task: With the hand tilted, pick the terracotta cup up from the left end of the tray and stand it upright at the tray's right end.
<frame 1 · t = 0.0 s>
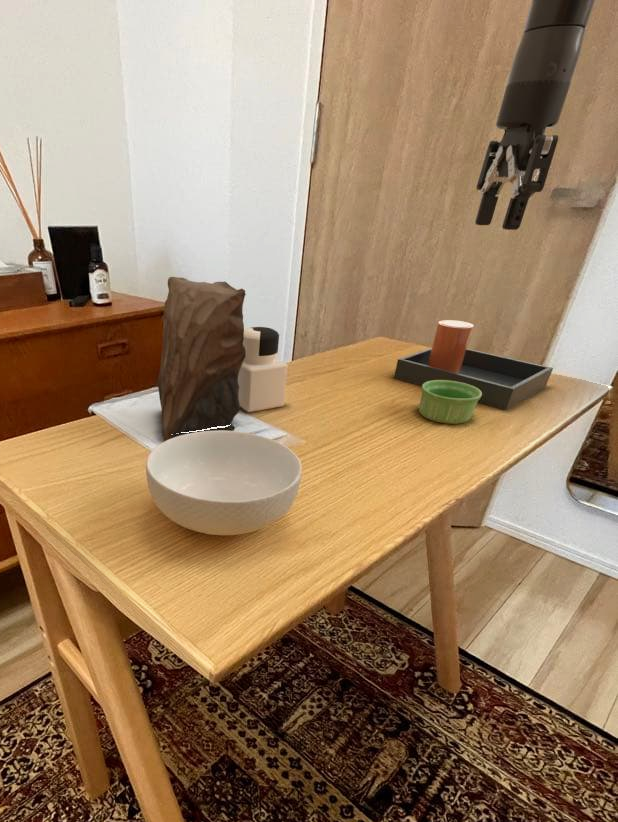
hand: (495, 227, 74), 26 cm above the table, tool pointing down, fingers open, 8 cm apart
cereal bowl: (222, 516, 57), on the table
brown carved rock: (188, 426, 77), on the table
medicine bottle: (255, 403, 85), on the table
cup: (442, 372, 97), point 1 cm above the table, touching tray
tray: (468, 382, 95), on the table
ramekin: (443, 416, 81), on the table
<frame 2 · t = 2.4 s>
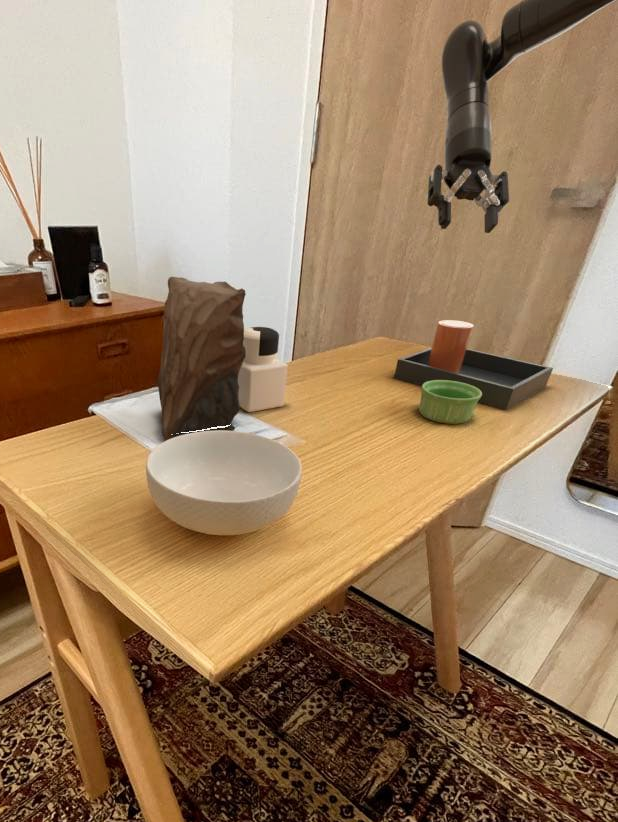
hand: (468, 228, 90), 24 cm above the table, tool tilted 40°, fingers open, 8 cm apart
nothing on the table moved.
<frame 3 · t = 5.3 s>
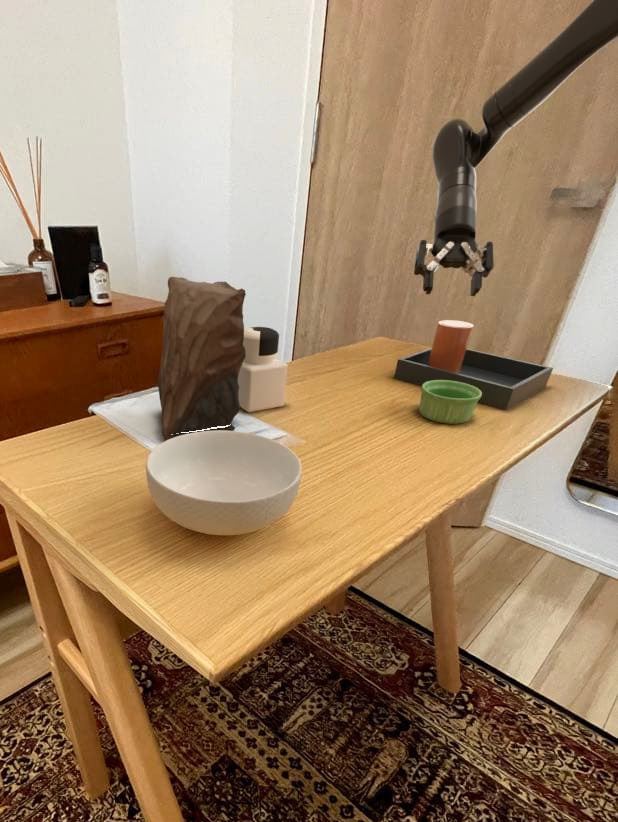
hand: (451, 292, 96), 14 cm above the table, tool tilted 45°, fingers open, 8 cm apart
nothing on the table moved.
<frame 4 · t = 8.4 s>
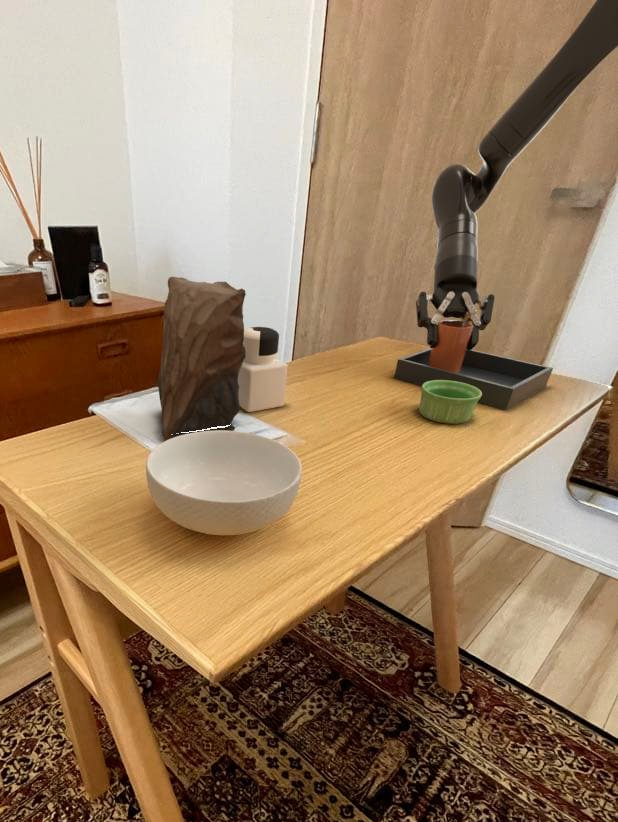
hand: (452, 346, 93), 6 cm above the table, tool tilted 45°, fingers closed on cup, 6 cm apart
cup: (442, 372, 97), point 1 cm above the table, touching tray, gripper
everything else where it was.
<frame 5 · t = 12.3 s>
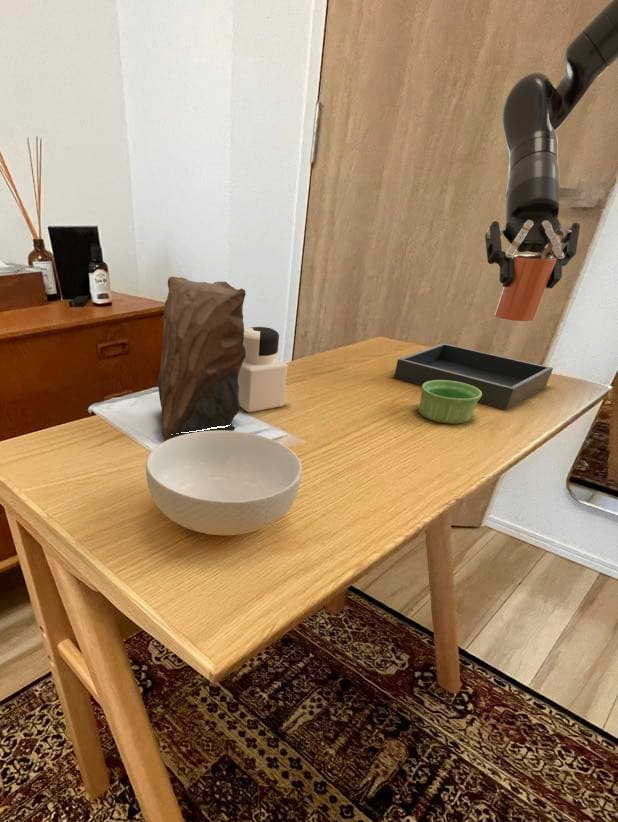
hand: (530, 284, 80), 18 cm above the table, tool tilted 45°, fingers closed on cup, 6 cm apart
cup: (514, 316, 85), point 12 cm above the table, touching gripper
everything else where it was.
when the fingers open (6 cm above the table, at t = 16.2 s): cup stays where it is, resting on tray.
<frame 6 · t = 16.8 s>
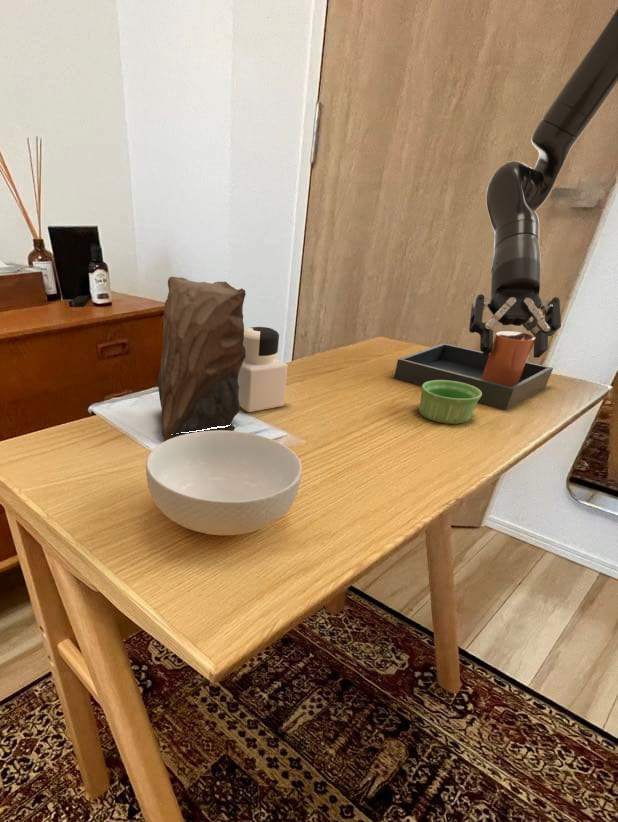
hand: (513, 354, 86), 7 cm above the table, tool tilted 45°, fingers open, 8 cm apart
cup: (497, 386, 91), point 1 cm above the table, touching tray
everything else where it was.
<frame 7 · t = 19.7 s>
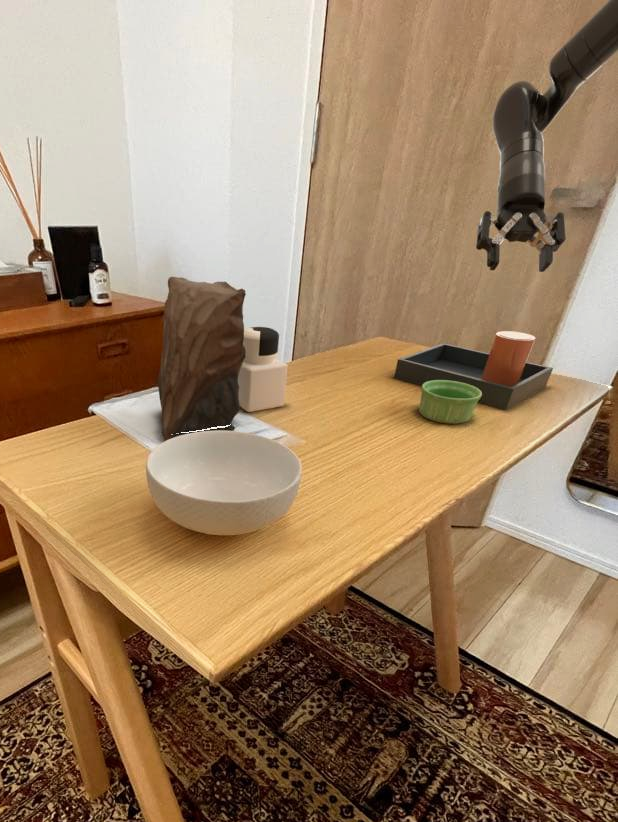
hand: (519, 268, 89), 19 cm above the table, tool tilted 45°, fingers open, 8 cm apart
nothing on the table moved.
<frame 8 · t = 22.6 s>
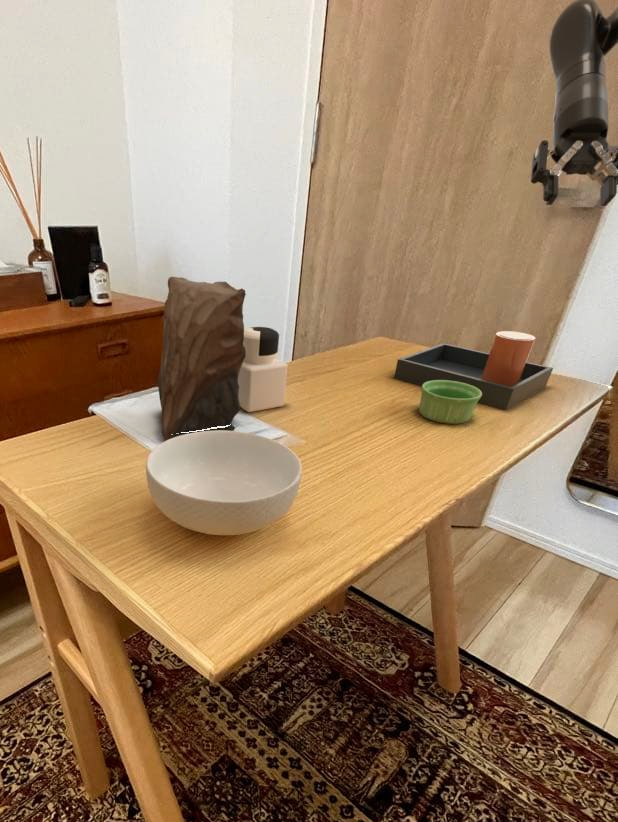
hand: (579, 201, 82), 29 cm above the table, tool tilted 45°, fingers open, 8 cm apart
nothing on the table moved.
at the end: cup inside the target area (0.1 cm from its centre), point 0.6 cm above the table; cup tilted 0°; the gripper is holding nothing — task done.
